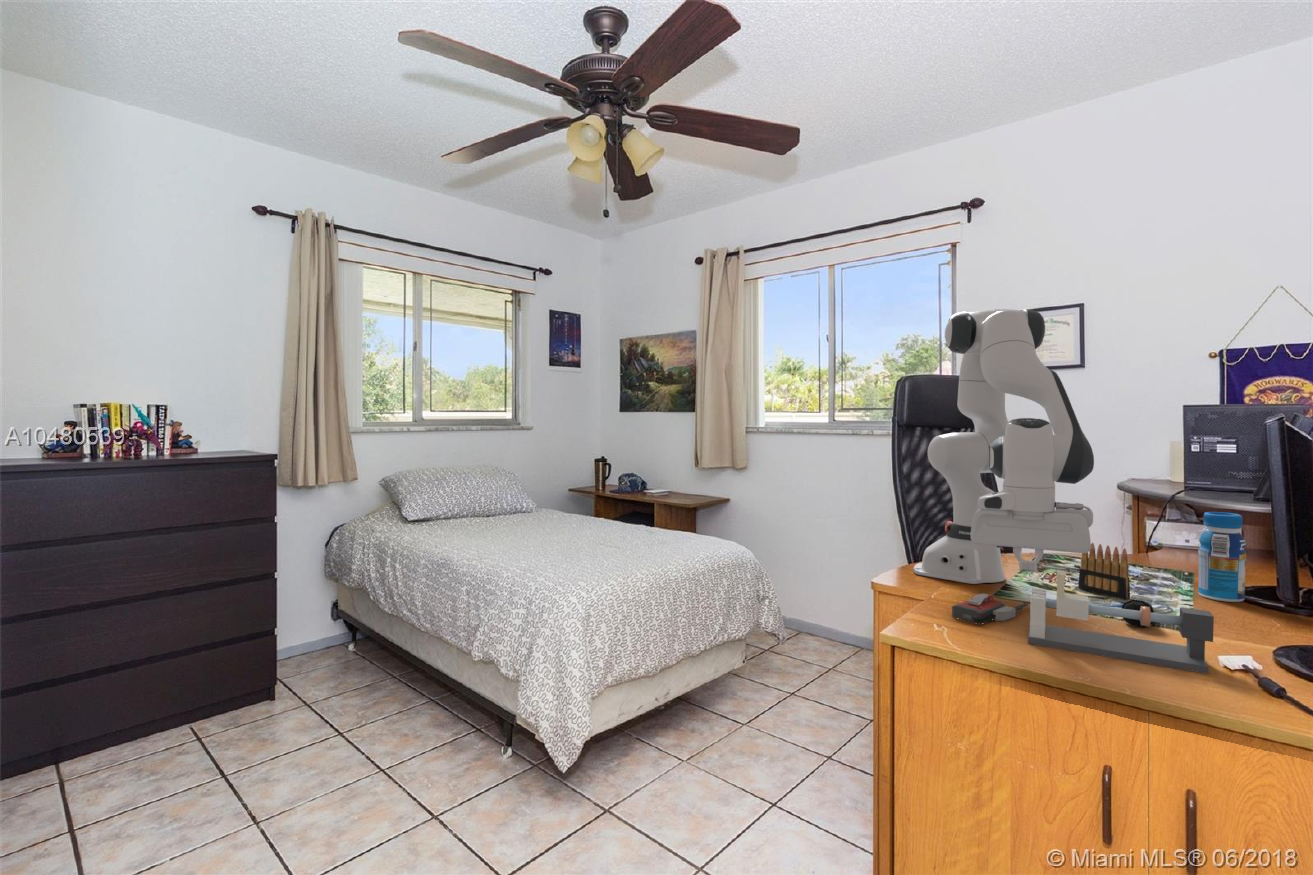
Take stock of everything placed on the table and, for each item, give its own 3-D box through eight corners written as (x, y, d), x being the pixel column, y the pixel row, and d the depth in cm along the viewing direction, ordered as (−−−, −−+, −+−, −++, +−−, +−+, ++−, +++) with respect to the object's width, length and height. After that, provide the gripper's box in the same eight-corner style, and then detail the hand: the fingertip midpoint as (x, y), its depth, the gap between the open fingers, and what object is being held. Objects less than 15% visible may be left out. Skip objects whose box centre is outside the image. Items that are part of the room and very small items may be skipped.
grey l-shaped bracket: (1056, 615, 117) (1057, 574, 117) (1056, 610, 120) (1057, 570, 120) (1088, 620, 115) (1089, 578, 114) (1087, 615, 118) (1088, 573, 117)
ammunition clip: (1078, 588, 154) (1078, 541, 154) (1082, 587, 155) (1083, 540, 155) (1125, 599, 145) (1126, 549, 144) (1130, 598, 145) (1131, 548, 145)
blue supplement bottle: (1187, 592, 150) (1189, 511, 149) (1220, 592, 150) (1222, 510, 149) (1220, 603, 141) (1222, 517, 140) (1255, 602, 141) (1258, 516, 141)
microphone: (1138, 619, 140) (1124, 630, 126) (1129, 593, 142) (1115, 602, 127) (1167, 617, 137) (1157, 628, 122) (1158, 590, 138) (1147, 599, 124)
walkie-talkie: (988, 630, 125) (1031, 611, 137) (988, 609, 125) (1031, 592, 137) (946, 619, 132) (991, 602, 144) (946, 599, 132) (991, 583, 144)
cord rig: (1027, 643, 117) (1028, 596, 117) (1030, 628, 126) (1030, 584, 125) (1216, 675, 103) (1217, 622, 102) (1204, 655, 111) (1205, 606, 111)
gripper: (1092, 502, 118) (1091, 574, 118) (973, 496, 129) (972, 561, 129) (1094, 506, 112) (1093, 581, 113) (969, 499, 124) (969, 567, 124)
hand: (1028, 570), depth 121 cm, fingers closed
